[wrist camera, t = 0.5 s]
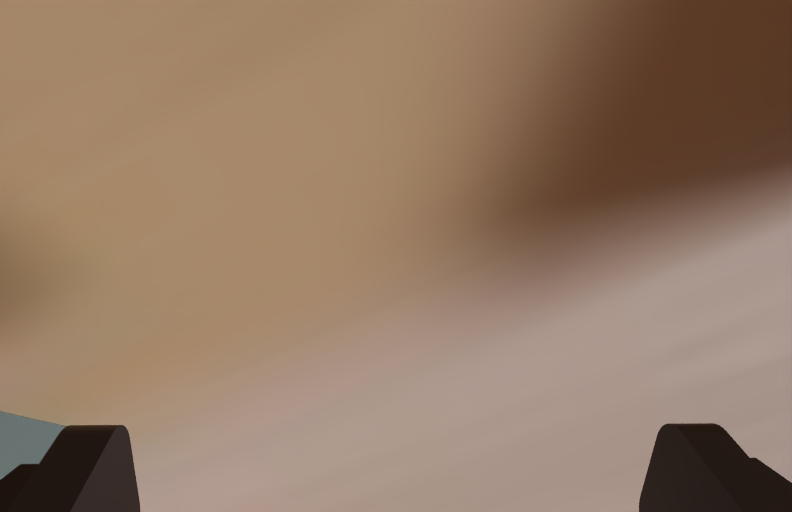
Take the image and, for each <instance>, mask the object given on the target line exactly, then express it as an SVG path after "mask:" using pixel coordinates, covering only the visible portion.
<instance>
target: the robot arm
mask: <svg viewBox="0 0 792 512" xmlns="http://www.w3.org/2000/svg"><path fill="white" fill-rule="evenodd" d="M0 512H140V502H139V495H138V489H137V482H136V476H135V469H134V463H133V456H132V450H131V443H130V437H129V433H128V430H127V428H126V427H125V426H123V425H70V426H67V427H65V428H64V429H63V430H62V431H61V432H60V433H59V434H58V436H57V437H56V439H55V440H54V442H53V443H52V445H51V446H50V448H49V449H48V451H47V452H46V454H45V455H44V457H43V458H42V460H41V461H40V463H39V464H20V465H19V466H17V467H16V468H15V469H14V470H12V471H11V472H10V473H8V474H7V475H6V476H5V477H3V478H2V479H1V480H0ZM639 512H792V483H791V482H790V481H788V480H787V479H785V478H784V477H782V476H781V475H779V474H778V473H777V472H775V471H774V470H772V469H771V468H769V467H768V466H767V465H765V464H764V463H762V462H761V461H759V460H758V459H757V458H749V457H748V456H747V454H746V453H745V452H744V451H743V450H742V449H741V448H740V446H739V445H738V444H737V443H736V442H735V441H734V440H733V438H732V437H731V436H730V435H729V434H728V433H727V431H726V430H724V429H723V428H722V427H721V426H719V425H717V424H712V423H709V424H665V425H664V426H662V427H661V429H660V430H659V432H658V435H657V438H656V442H655V445H654V449H653V453H652V456H651V460H650V464H649V467H648V471H647V474H646V478H645V482H644V485H643V489H642V492H641V496H640V502H639Z"/></svg>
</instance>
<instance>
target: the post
mask: <svg viewBox="0 0 792 512" xmlns="http://www.w3.org/2000/svg"><path fill="white" fill-rule="evenodd" d="M65 427H66V426H62V425H57V424H53V423H49V422H44V421H40V420H35V419H31V418H26V417H22V416H18V415H13V414H9V413H4V412H0V480H1V479H2V478H3V477H5V476H6V475H7V474H8V473H10V472H11V471H12V470H14V469H15V468H16V467H17V466H19V465H20V464H39V463H40V461H41V460H42V458H43V457H44V455H45V454H46V452H47V451H48V449H49V448H50V446H51V445H52V443H53V442H54V440H55V439H56V437H57V436H58V434H59V433H60V432H61V431H62V430H63V429H64V428H65Z"/></svg>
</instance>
